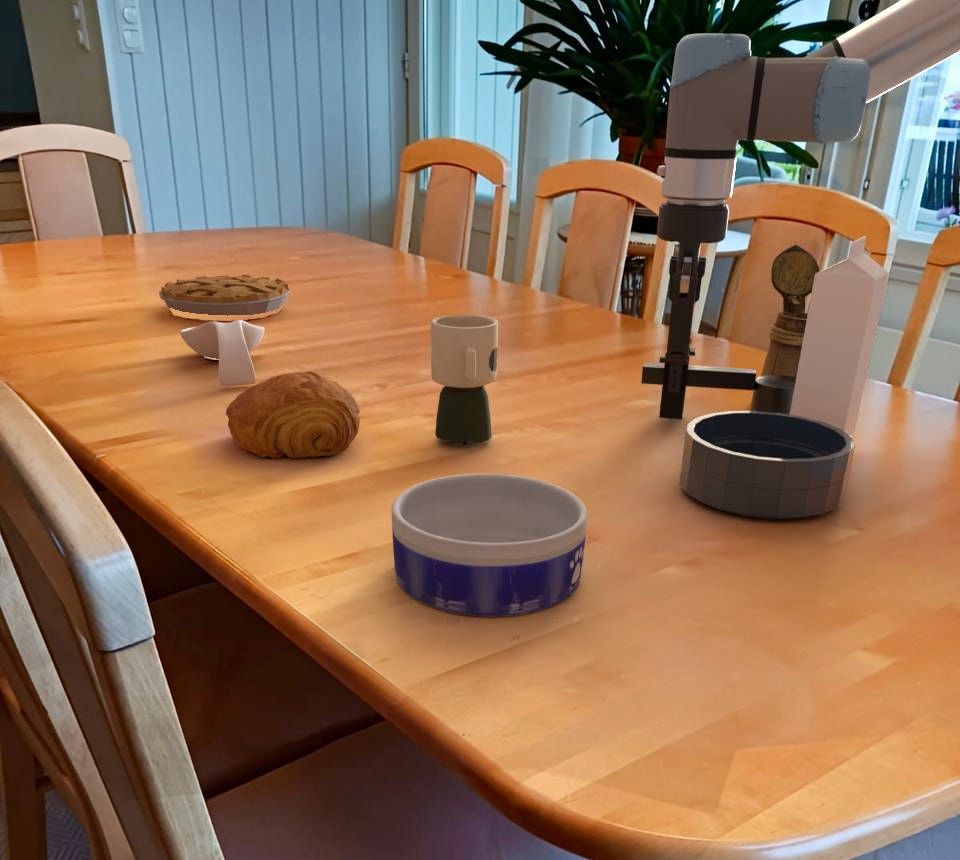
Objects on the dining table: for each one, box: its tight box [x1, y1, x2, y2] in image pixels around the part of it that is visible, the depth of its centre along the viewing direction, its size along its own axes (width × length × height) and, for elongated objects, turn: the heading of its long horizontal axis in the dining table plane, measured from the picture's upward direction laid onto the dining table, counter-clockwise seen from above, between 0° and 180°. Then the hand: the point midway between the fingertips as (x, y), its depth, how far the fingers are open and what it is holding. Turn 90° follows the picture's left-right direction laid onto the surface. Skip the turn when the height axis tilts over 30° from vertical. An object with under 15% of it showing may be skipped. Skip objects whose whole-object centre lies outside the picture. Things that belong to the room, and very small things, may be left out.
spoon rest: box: [179, 320, 265, 387], centre depth 134 cm, size 24×12×7 cm, turn 19°
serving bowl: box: [678, 410, 856, 520], centre depth 94 cm, size 16×16×6 cm
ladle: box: [640, 362, 796, 415], centre depth 115 cm, size 19×6×6 cm, turn 77°
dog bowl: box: [391, 473, 588, 618], centre depth 77 cm, size 15×15×6 cm
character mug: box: [430, 314, 499, 446], centre depth 105 cm, size 11×7×13 cm, turn 9°
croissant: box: [225, 371, 361, 460], centre depth 106 cm, size 14×16×8 cm
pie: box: [158, 274, 292, 316], centre depth 167 cm, size 22×22×5 cm
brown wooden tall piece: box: [760, 244, 820, 377], centre depth 121 cm, size 9×14×18 cm, turn 178°
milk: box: [790, 236, 890, 439], centre depth 102 cm, size 6×6×22 cm
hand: (671, 414), depth 117 cm, fingers closed on ladle, 2 cm apart
